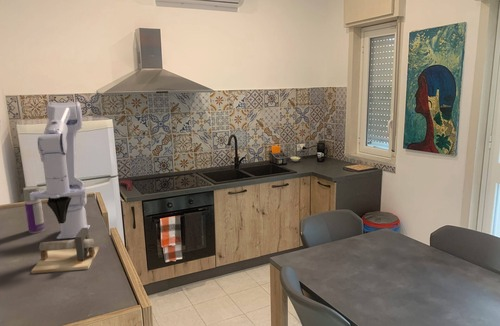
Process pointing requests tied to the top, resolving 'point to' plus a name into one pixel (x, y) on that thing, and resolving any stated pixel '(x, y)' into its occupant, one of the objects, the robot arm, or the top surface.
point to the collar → (81, 244)
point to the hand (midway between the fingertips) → (62, 222)
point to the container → (33, 211)
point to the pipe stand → (63, 256)
